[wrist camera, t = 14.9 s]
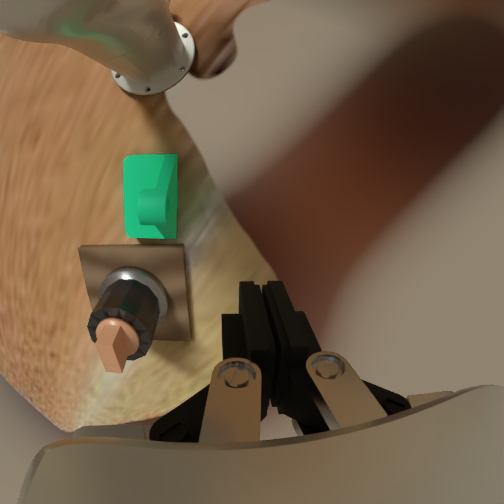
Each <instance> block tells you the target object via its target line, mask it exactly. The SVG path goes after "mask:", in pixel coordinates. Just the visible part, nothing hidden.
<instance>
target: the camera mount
mask: <svg viewBox="0 0 504 504" xmlns="http://www.w3.org/2000/svg"><path fill="white" fill-rule="evenodd" d="M177 170H178V154H146V155H130V156H127V157H126V158H125V159H124V162H123V189H124V216H125V232H126V234H127V235H128V236H129V237H131V238H159V239H175V238H176V236H177V210H178V179H177Z"/></svg>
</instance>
